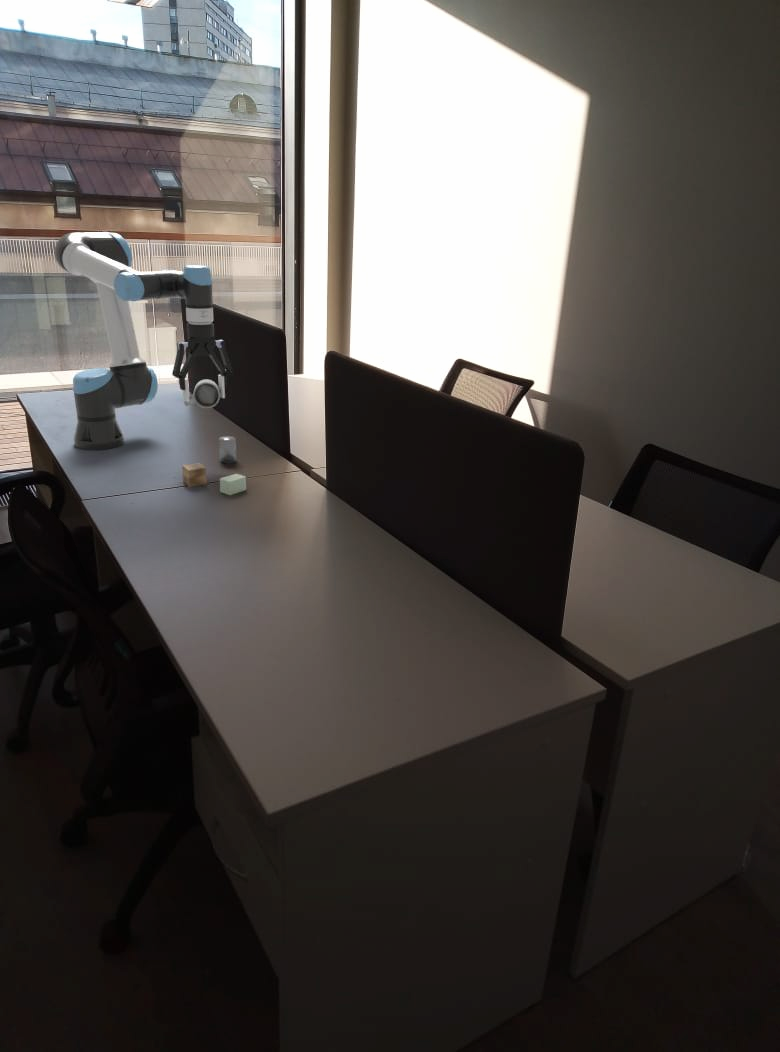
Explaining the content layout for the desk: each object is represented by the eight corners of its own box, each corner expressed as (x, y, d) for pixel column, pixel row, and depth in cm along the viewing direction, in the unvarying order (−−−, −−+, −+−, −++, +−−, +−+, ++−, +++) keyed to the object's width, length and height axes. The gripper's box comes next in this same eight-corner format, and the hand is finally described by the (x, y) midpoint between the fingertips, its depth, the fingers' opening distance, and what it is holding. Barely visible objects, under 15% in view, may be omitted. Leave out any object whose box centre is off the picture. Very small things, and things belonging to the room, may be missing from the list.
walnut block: (189, 487, 215) (188, 470, 213) (183, 481, 219) (182, 465, 217) (206, 484, 217) (205, 467, 215) (200, 479, 221) (199, 462, 219)
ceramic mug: (219, 401, 234) (218, 376, 231) (220, 408, 227) (219, 382, 224) (184, 402, 232) (181, 377, 229) (183, 409, 224) (181, 383, 221)
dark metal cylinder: (223, 463, 234) (222, 441, 232) (217, 459, 238) (216, 437, 236) (238, 461, 237) (237, 439, 234) (232, 457, 241) (231, 435, 238)
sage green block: (230, 495, 210) (229, 482, 208) (220, 492, 212) (219, 478, 211) (246, 490, 214) (245, 476, 213) (236, 486, 217) (235, 473, 215)
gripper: (165, 326, 210) (170, 405, 219) (242, 322, 222) (245, 397, 231) (156, 322, 216) (162, 399, 225) (232, 319, 228) (235, 392, 236)
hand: (204, 398), depth 228 cm, fingers closed on ceramic mug, 10 cm apart
